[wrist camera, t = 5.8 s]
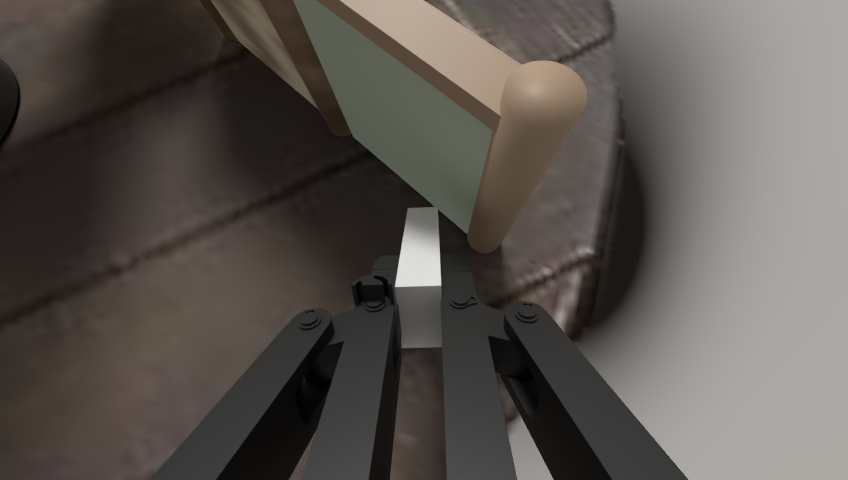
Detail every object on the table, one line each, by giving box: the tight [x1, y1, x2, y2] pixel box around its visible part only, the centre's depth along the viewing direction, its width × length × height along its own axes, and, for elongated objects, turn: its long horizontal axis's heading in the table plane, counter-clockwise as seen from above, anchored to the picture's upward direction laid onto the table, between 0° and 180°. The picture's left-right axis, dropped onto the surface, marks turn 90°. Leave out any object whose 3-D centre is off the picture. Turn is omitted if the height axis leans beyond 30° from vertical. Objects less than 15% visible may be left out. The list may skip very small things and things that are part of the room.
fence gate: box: [293, 0, 587, 253], centre depth 16 cm, size 13×2×13 cm, turn 46°
